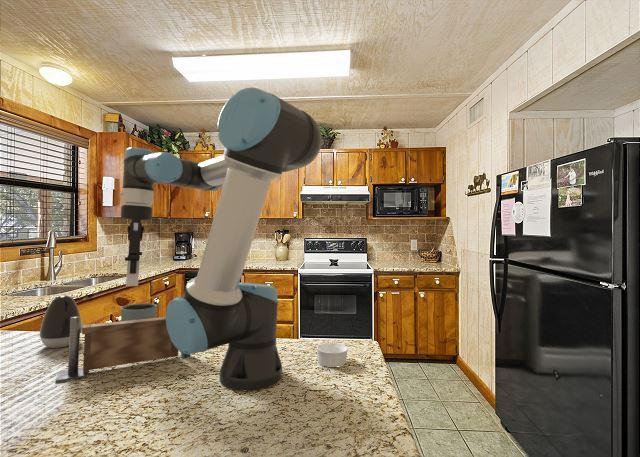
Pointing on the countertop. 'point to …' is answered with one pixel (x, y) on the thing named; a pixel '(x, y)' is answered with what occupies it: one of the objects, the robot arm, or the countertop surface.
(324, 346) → the ramekin
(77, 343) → the hinge post
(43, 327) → the dark grey egg shape
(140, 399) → the countertop surface
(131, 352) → the gate
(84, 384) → the countertop surface
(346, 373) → the countertop surface
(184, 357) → the post
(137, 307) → the teal cylindrical container
